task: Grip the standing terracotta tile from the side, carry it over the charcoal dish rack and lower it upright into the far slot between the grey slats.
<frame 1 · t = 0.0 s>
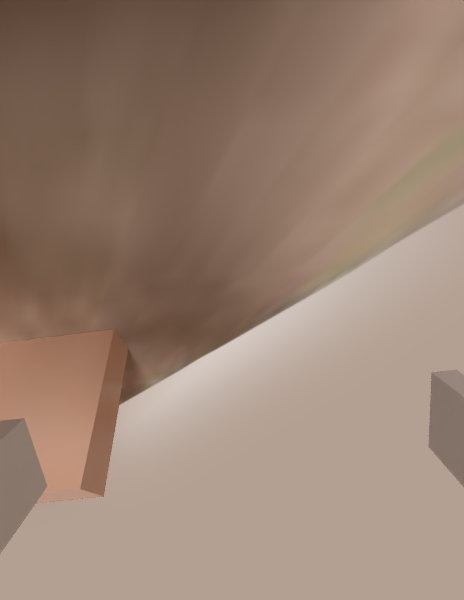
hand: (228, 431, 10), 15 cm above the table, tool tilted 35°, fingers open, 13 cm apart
terracotta tile: (66, 346, 33), on the table
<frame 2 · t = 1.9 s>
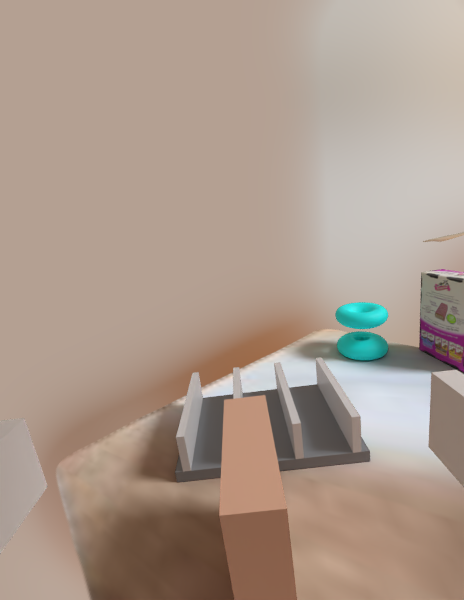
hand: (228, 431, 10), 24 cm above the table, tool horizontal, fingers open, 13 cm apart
donuts: (362, 353, 65), on the table
terracotta tile: (266, 573, 27), on the table
candy bar box: (451, 359, 58), on the table
dish rack: (265, 429, 45), on the table
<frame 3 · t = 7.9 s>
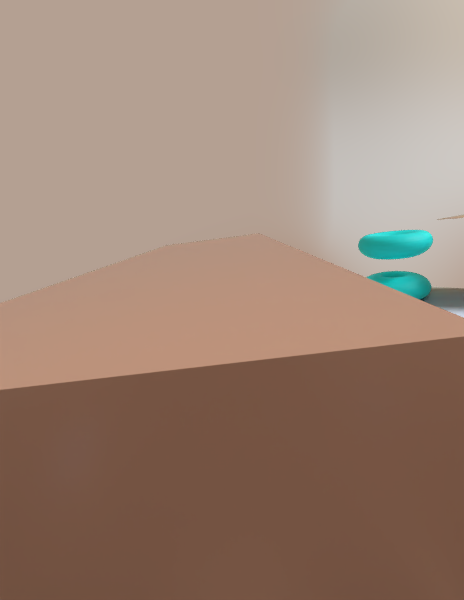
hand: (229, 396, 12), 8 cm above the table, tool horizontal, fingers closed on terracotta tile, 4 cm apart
donuts: (393, 297, 49), on the table
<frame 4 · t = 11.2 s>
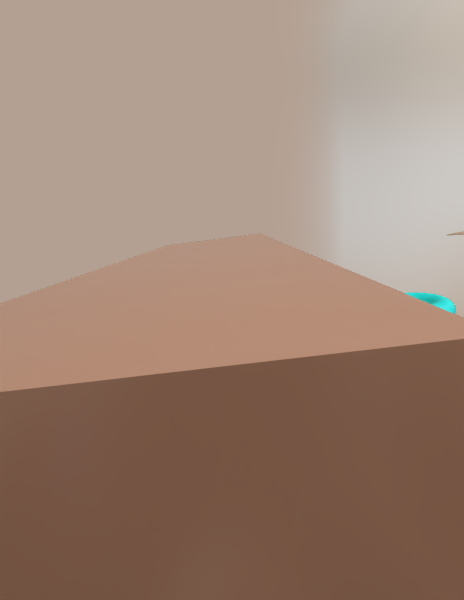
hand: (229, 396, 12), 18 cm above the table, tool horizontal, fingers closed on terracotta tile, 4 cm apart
donuts: (413, 360, 48), on the table
when the fingers open (12 cm above the table, at t = 14.7 s): terracotta tile drops 2 cm, resting on dish rack.
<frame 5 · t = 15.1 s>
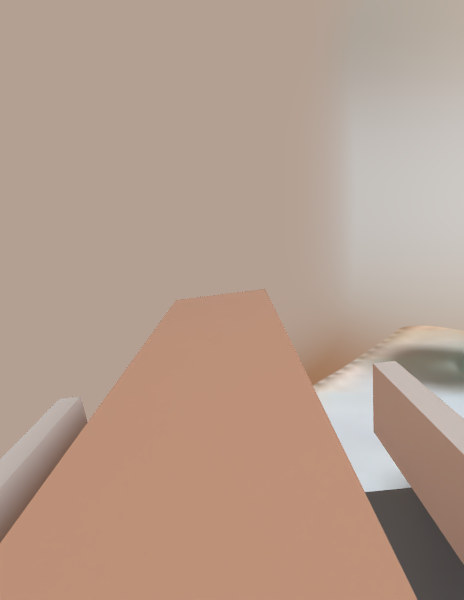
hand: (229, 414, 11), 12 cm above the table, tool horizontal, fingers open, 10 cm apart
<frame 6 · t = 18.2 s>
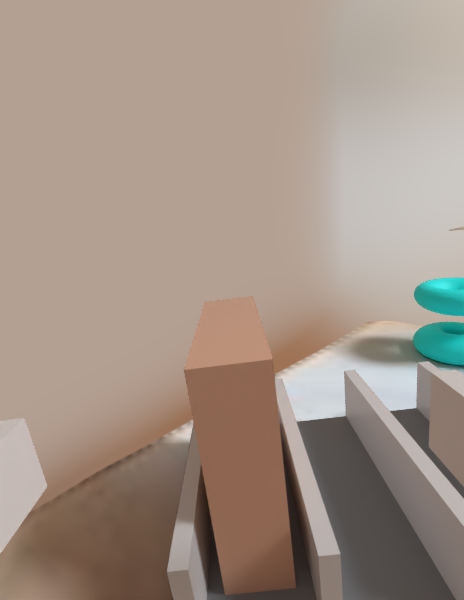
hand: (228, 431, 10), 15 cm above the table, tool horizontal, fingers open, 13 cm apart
donuts: (454, 354, 43), on the table
terracotta tile: (252, 497, 23), point 1 cm above the table, touching dish rack
dish rack: (346, 503, 23), on the table
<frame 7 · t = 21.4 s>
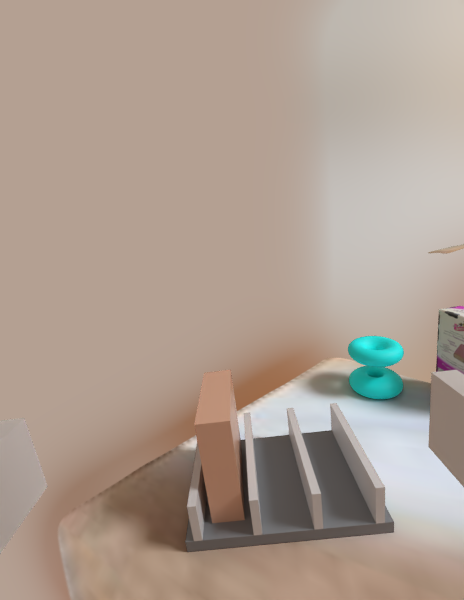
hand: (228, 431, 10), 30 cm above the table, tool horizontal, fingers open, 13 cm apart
donuts: (375, 389, 63), on the table
terracotta tile: (229, 481, 43), point 1 cm above the table, touching dish rack
dish rack: (279, 484, 43), on the table
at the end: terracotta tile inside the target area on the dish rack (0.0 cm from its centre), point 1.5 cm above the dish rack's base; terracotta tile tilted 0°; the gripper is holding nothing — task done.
